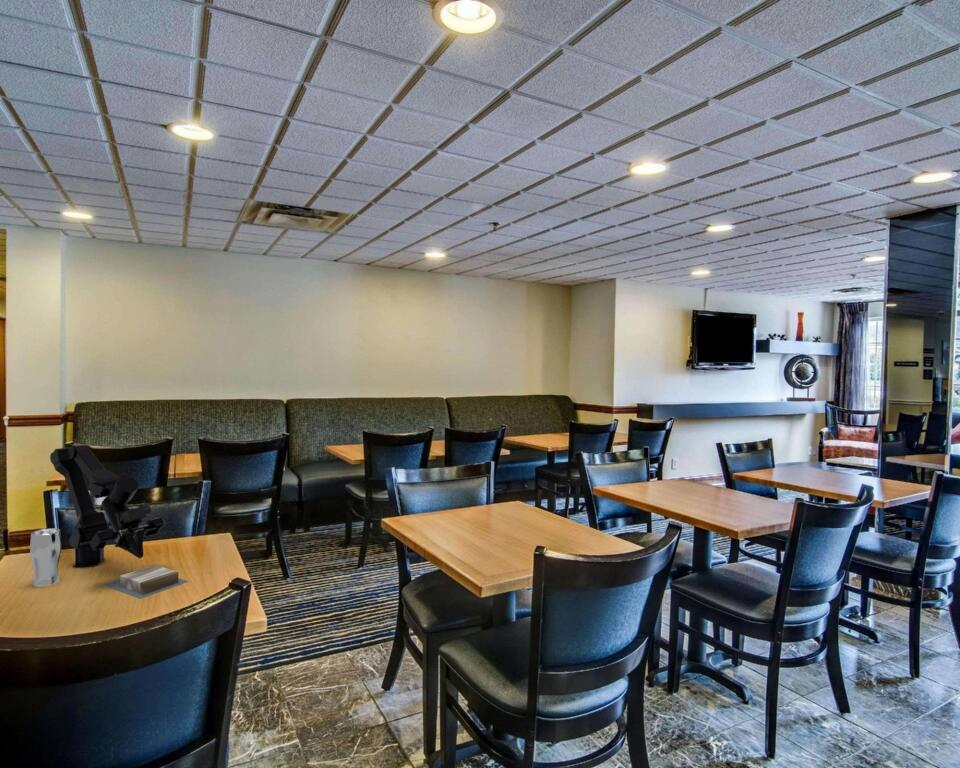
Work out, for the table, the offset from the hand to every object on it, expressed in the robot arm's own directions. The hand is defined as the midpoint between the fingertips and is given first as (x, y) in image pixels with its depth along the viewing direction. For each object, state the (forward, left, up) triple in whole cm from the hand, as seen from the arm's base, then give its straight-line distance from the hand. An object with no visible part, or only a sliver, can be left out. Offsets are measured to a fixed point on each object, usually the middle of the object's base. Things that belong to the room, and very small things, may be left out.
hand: (141, 557), depth 163 cm
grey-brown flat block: (-1, +1, -6) cm, 6 cm away
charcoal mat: (+2, -1, -8) cm, 8 cm away
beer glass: (-26, +3, -8) cm, 27 cm away
